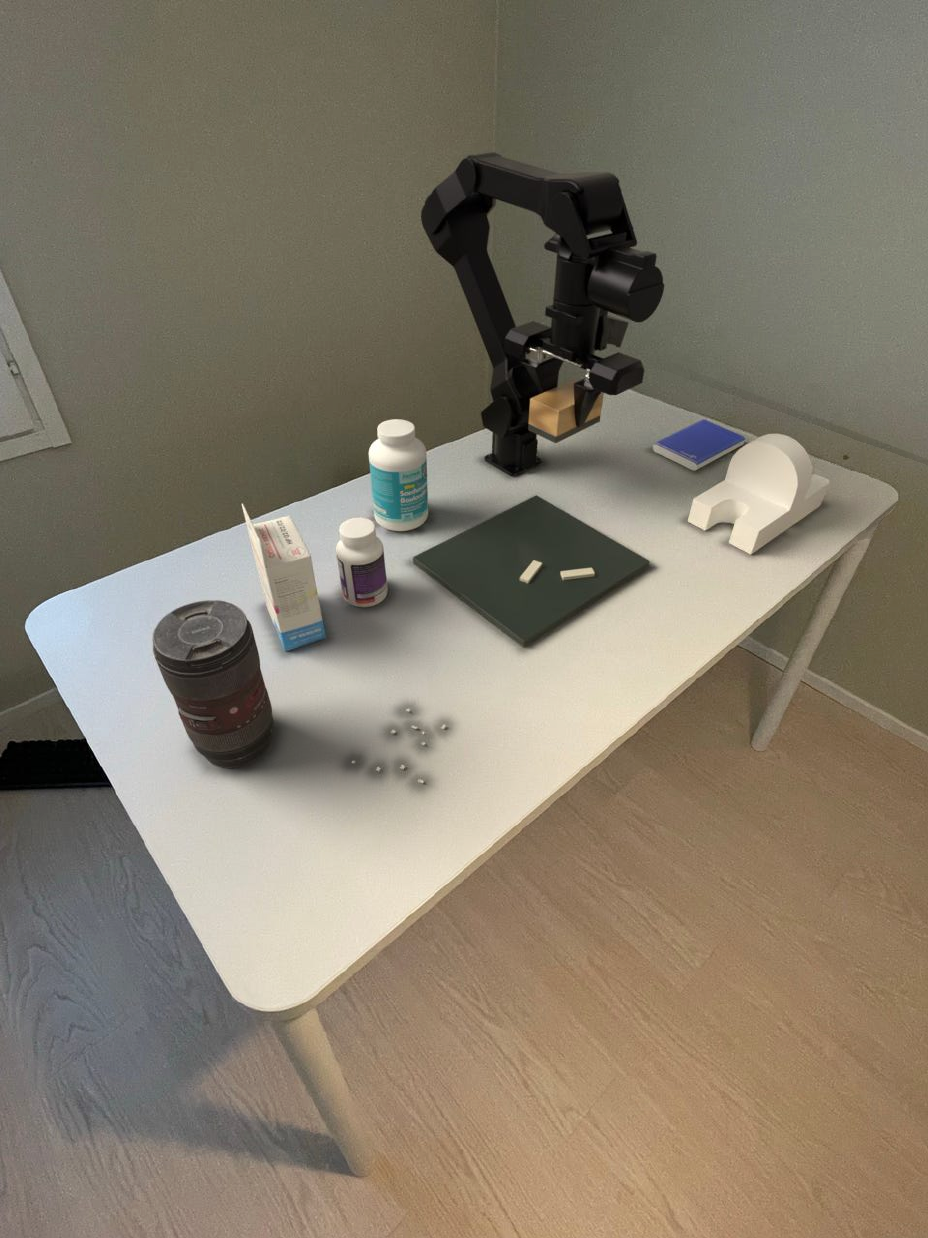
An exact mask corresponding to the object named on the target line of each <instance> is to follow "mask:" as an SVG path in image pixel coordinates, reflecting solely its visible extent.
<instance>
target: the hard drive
mask: <svg viewBox="0 0 928 1238" xmlns="http://www.w3.org/2000/svg"><path fill="white" fill-rule="evenodd" d="M745 441H746V437H745V436H744V435H741V434H739V433H737V432H735V431H732V430H731V429H727V428H726V427H723V426H721V425H719V424H716V423H714V422H711V421H709V420H707V419H701V420H699V421H697V422H695V423H693V424H691V425H688V426H687V427H684V428H682V429H680V430H678V431H676V432H674V433H671V434H670V435H668V436H666V437H664V438H662V439H661V438H660V439H659V440H657V441H656V442H654V443H653V445H652V451H653V452H654V453H656V454H659V455H660V456H663V457H664V458H666V459H669V460H671V461H673V462H675V463H676V464H678V465H681V466H682V467H685V468H687V469H689V470H691V471H698V470H699V469H701V468H703V467H705V466H707V465H708V464H710V463H712V462H714V461H716V460H717V459H719V458H721V457H723V456H724V455H727V454H728V453H730V452H732V451H734V450H736V449H737V448H738V449H739V448H741V446H744V444H745Z"/></svg>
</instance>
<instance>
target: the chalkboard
mask: <svg viewBox="0 0 928 1238" xmlns="http://www.w3.org/2000/svg"><path fill="white" fill-rule="evenodd" d="M533 560H535V561H538V562H541V563H542V566H541V568H540V569H539V570H538V572H537V573H536V574H535V575H534V577H533V578H532V579H531V581H530V582H529V583H525V582H522V581H520V577H521V575H522V574H523V573H524V572H525V570H526V569H527V568H528V567H529V565H530V564H531V563H532V562H533ZM650 562H651V561H650V560H649V559H647V558H645V557H643V556H642V555H640V554H639V553H637V552H635V551H633V550H632V549H630V548H628V547H626V546H625V545H623V544H621V543H619V542H618V541H616V540H615V539H613V538H611V537H609V536H608V535H605V534H604V533H602V532H600V531H599V530H597V529H595V528H594V527H592V526H590V525H589V524H588V523H585V522H584V521H581V520H580V519H578V518H576V517H575V516H573V515H571V514H570V513H568V512H567V511H564V510H563V509H561V508H560V507H558V506H556V505H554V504H552V503H551V502H549V501H547V500H545V499H544V498H542V497H541V496H539V495H537V494H536V495H534V496H532V497H530V498H528V499H526V500H524V501H522V502H520V503H518V504H516V505H514V506H512V507H510V508H508V509H506V510H504V511H501V512H500V513H498V514H496V515H494V516H492V517H490V518H488V519H486V520H484V521H482V522H480V523H478V524H476V525H474V526H471V527H470V528H468V529H466V530H464V531H462V532H460V533H458V534H456V535H454V536H452V537H450V538H448V539H447V540H444V541H442V542H440V543H438V544H437V545H434V546H432V547H430V548H428V549H427V550H424V551H422V552H420V553H418V554H417V555H415V556H412V564H414V565H415V566H416V567H417V568H418V569H420V570H421V571H423V573H425V574H426V575H428V576H429V577H430V578H431V579H433V580H434V581H436V582H437V583H438V584H440V585H441V586H442V587H444V588H445V589H446V590H447V591H449V592H450V593H451V594H453V595H454V597H457V598H458V599H460V601H462V602H463V603H464V604H465V605H467V606H469V608H471V609H472V610H474V611H475V612H476V613H478V614H479V615H480V616H481V617H483V618H484V619H485V620H487V621H488V622H489V623H491V625H493V626H494V627H496V628H497V629H498V630H499V631H501V632H502V633H504V634H505V635H506V636H508V637H509V638H510V639H511V640H513V641H514V642H515V643H517V644H518V645H519V646H521V647H522V648H526V647H527V646H528V645H530V644H531V643H533V642H534V641H536V640H538V639H539V638H540V637H542V636H543V635H546V634H547V633H548V632H550V631H552V630H553V629H554V628H556V627H558V626H559V625H561V624H563V623H564V622H565V621H567V620H569V619H570V618H572V617H573V616H575V615H576V614H577V613H579V612H581V611H582V610H584V609H586V608H587V607H589V606H590V605H592V604H593V603H595V602H597V601H598V600H600V599H602V598H603V597H605V596H606V595H607V594H609V593H611V592H613V591H614V590H615V589H617V588H618V587H620V586H622V585H623V584H625V583H626V582H628V581H629V580H631V579H633V578H634V577H636V576H638V575H639V574H640V573H642V572H643V571H645V570H647V569H648V568H649V567H650ZM584 568H592V569H593V571H594V573H595V576H593V577H585V578H577V579H569V580H563V579H562V577H561V575H560V573H561V571H567V570H575V569H584Z"/></svg>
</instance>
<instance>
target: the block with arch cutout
mask: <svg viewBox="0 0 928 1238" xmlns="http://www.w3.org/2000/svg"><path fill="white" fill-rule="evenodd" d="M829 485H830V479H827V478H825V477H823V476H821V475H818V474H816V473H814V474H813V464H812V461H811V457H810V455H809V454H808V451H807V450H806V449H805V447H803V445H802V444H800V443H799V441H797V440H796V439H794V438H793V437H791V436H789V435H785V434H782V433H767V434H764V435H761V436H759V437H756V439H753V440H751V441H750V442H748V443H747V444H745V445H742V447H739V448H738V449H737V450H736V452H735V453H734V454H733V456H732V457H731V459H730V462H729V464H728V468H727V471H726V475H725V478H724V479H723V481H721V482H719V483H717V484H716V485H714V486H712V487H710V488H709V489H707V490H705V491H704V492H702V493H700V494H699V495H697V496H695V497H694V498H692V499H693V500H692V503H691V507H690V511H689V513H688V514H689V515H688V518H687V522H688V523H689V524H691V525H693V526H695V527H697V528H699V529H701V530H703V531H704V532H706V531H707V530H709V529H711V528H712V527H714V526H715V525H717V524H719V523H727V524H732V525H733V528H732V531H731V534H730V537H729V540H728V544H729V545H732V546H733V547H736V548H738V550H740V551H743V552H745V553H746V554H749V556H750V555H753V554H754V553H756V552H757V551H759V550H760V549H761V548H763V547H764V546H765V545H767V544H768V543H770V542H771V541H772V540H774V539H776V538H777V537H778V536H779V535H781V534H782V533H784V532H786V531H787V530H788V529H790V528H791V527H792V526H794V525H795V524H797V523H798V522H799V521H801V520H803V519H804V518H805V517H806V516H808V515H809V514H811V513H812V512H814V511H815V510H817V509H818V508H819V507H820V506H821V505H822V502H823V500H824V497H825V495H826V492H827V490H828V487H829Z"/></svg>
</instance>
